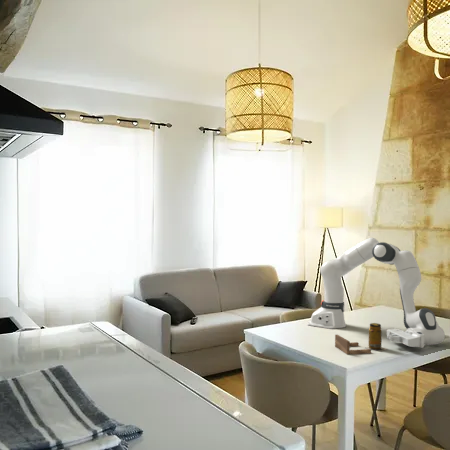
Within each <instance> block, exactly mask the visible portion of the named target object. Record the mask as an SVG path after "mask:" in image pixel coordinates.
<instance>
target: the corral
mask: <svg viewBox="0 0 450 450" xmlns="http://www.w3.org/2000/svg"><path fill="white" fill-rule="evenodd" d="M334 347H335V348H336V349H338V350H339V351H341V352H343V353H345V354H346V355H359V354H360V355H362V354H372V349H367V348H365V349H350V348H351V347H359V342H357V341H356V342H350V341H349V340H348V339H346V338H345V337H342V336H341V335H340V334H334Z"/></svg>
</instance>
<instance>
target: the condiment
mask: <svg viewBox="0 0 450 450" xmlns="http://www.w3.org/2000/svg"><path fill="white" fill-rule="evenodd" d="M381 327H382V325H381V324H380V323H377V322H371V323H370V324H369V329H368V346H366V347H365V349H371V351H372V350H373V351H374V350H375V351H378V352H383V351H386V350H388V349H389V348H387V347H382V334H383V333H382V328H381Z"/></svg>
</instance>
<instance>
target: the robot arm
mask: <svg viewBox="0 0 450 450" xmlns="http://www.w3.org/2000/svg"><path fill="white" fill-rule="evenodd" d="M412 252H413V251H410V250H406V249H405V250H401V249H400V248H399V247H398V246H396V245H394V244H391V243H387V242H384V241H382V242H381V241H378V239H376V238H374V237H368V238H366V239H364V240H362V241H359V242H358V243H356V244H354V245H353V246H351V247H350V248H347V250H345V251H344V252H342V253H341V254H339V256H337V257H336V258H334V259H330V260H327V261H324V262H323V264H322V265H321V266H320V269H319V270H320V272H319V273H320V276H321V277H322V281H323V288H324V296H323V297H324V300H323V299H322V300H321V302H320V307H319V308H317V309H316V310H315V311H314V312H313V313H312V314H311V317H310V319H309V320H308V321H306V324H307V326H311V327H318V328H324V329H330V330H331V329H342V328H345V327H347V324H346V320H345V314H344V312H345V302H344V295H345V292H344V290H345V289H344V287H343V283H342V277H343V276H345V275H347V274H348V273H349V274H350V272H351V271H353V270H354V269H356V268H357V267H359V266H360V265H362V264H364V263H366V262H368V261H369V260H371V259H373V258H374V259H375V260H376V261H378V262H380V263H383V264H387V265H390V266H391V265H394V266H395V269H396V273H397V275H398V279H399V294H400V301H401V305H402V310H403V325H404V327H405V329H406V330H403V329H399V328H389V329H387V330H386V339H387V340H389V341H396V342H397V343H398V342H399V343H401V344H403V345H405V346H408V347H411V348H425V346H434V345H439V344H441V343H443V342H444V340H445V337H446V334H445V330H444V329H443V327H441V326H440V325H439V323H438V322H437V319H436V315H435V313H434V312H433V311H432V310H431V309H429V308H425V307H424V308H420V309H419V310H416V304H415V300H414V294H415V292H416V289H417V288H418V287H419V285H420V283H421V282H422V273H421V270H420V267H419V264H418V262H417V260H416V258H415V256H414V254H413V253H412Z"/></svg>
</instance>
